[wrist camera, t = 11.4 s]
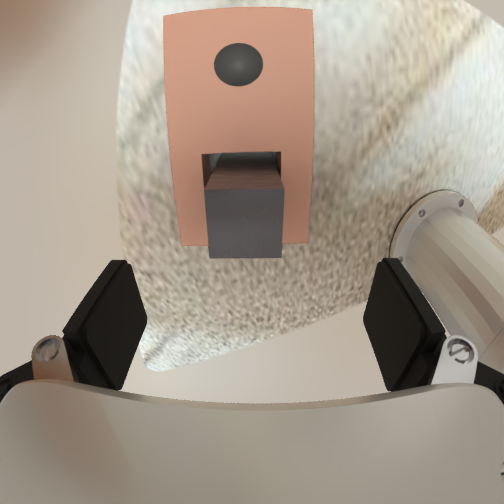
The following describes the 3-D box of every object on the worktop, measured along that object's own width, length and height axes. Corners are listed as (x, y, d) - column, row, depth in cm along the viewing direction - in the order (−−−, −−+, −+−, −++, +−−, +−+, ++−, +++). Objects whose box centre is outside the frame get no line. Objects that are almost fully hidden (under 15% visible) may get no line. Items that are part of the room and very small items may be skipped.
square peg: (221, 152, 22) (204, 190, 14) (270, 152, 22) (284, 189, 14) (223, 197, 24) (209, 258, 16) (269, 197, 24) (281, 257, 16)
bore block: (177, 28, 16) (163, 15, 13) (302, 23, 16) (312, 9, 13) (190, 224, 26) (181, 246, 22) (299, 221, 26) (307, 243, 22)
